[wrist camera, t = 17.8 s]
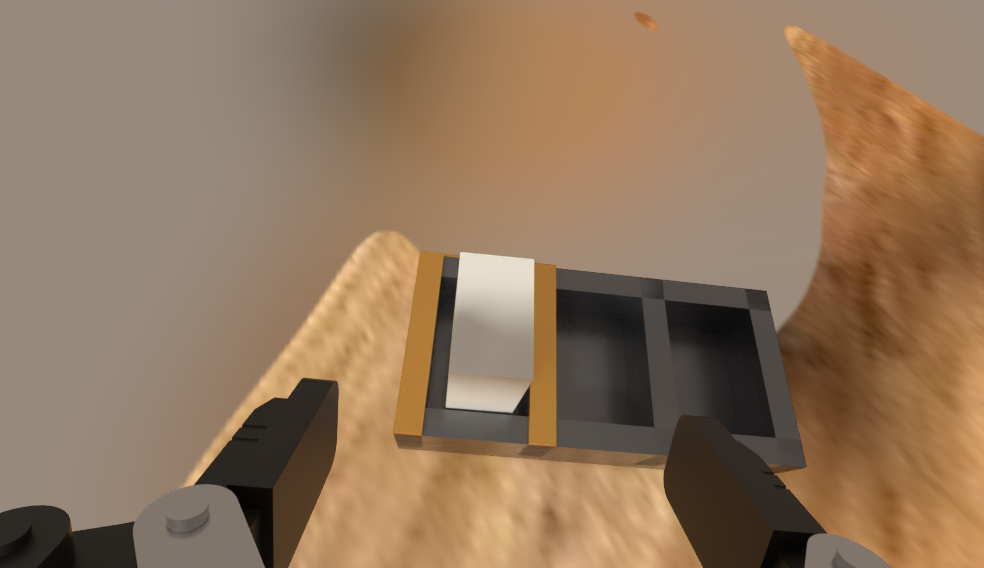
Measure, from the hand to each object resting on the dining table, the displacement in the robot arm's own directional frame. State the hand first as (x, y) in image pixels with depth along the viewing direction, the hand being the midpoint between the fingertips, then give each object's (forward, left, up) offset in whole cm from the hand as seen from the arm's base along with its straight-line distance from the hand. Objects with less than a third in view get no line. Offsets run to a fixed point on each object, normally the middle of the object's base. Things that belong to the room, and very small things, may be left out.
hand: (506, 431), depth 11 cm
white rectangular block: (0, -5, -13) cm, 14 cm away
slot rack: (-6, -6, -14) cm, 16 cm away
